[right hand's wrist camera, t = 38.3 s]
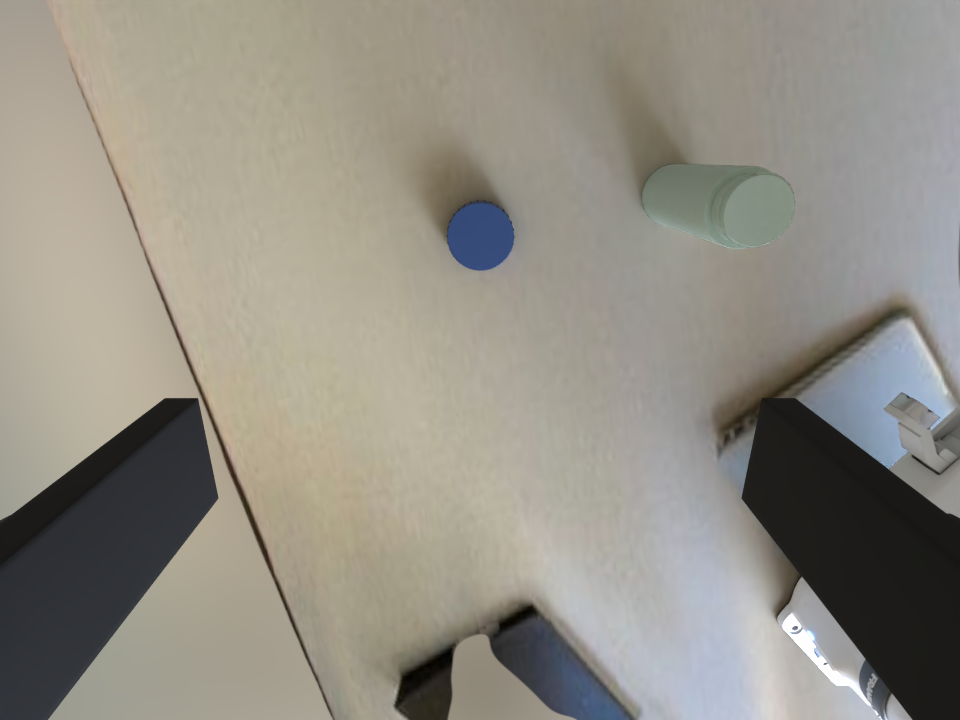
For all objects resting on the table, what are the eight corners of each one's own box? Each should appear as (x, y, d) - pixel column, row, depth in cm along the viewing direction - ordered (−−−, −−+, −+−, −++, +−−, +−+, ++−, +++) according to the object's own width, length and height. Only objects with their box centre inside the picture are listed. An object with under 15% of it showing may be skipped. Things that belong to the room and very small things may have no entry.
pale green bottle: (698, 222, 50) (796, 250, 35) (640, 226, 51) (713, 257, 35) (701, 161, 49) (807, 162, 33) (642, 166, 49) (719, 170, 33)
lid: (525, 242, 51) (527, 245, 49) (472, 279, 52) (472, 284, 50) (488, 186, 49) (489, 187, 47) (434, 226, 51) (432, 229, 48)
